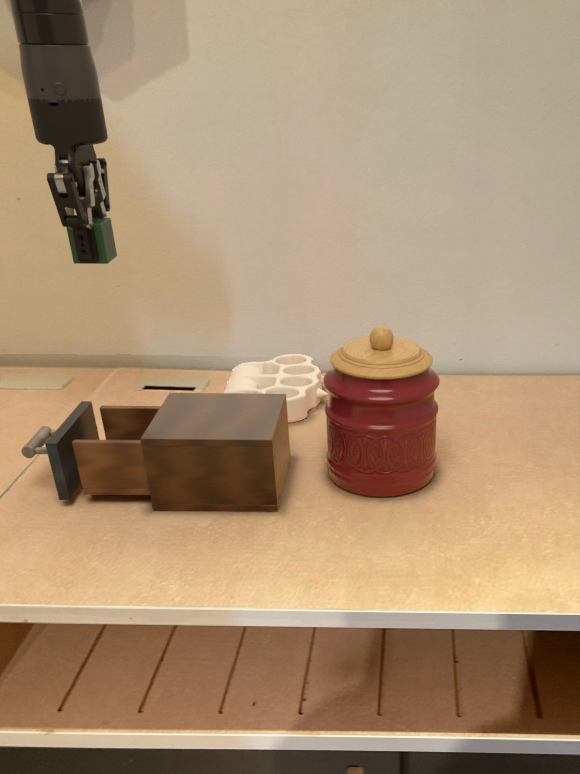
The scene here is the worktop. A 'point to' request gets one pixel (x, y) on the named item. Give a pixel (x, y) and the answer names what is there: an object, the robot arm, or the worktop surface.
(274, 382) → the white egg tray
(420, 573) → the worktop surface
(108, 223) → the block
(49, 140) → the robot arm
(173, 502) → the cabinet
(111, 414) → the drawer
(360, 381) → the kitchen canister
